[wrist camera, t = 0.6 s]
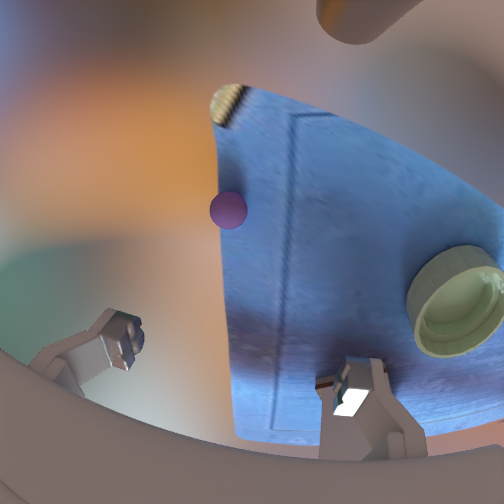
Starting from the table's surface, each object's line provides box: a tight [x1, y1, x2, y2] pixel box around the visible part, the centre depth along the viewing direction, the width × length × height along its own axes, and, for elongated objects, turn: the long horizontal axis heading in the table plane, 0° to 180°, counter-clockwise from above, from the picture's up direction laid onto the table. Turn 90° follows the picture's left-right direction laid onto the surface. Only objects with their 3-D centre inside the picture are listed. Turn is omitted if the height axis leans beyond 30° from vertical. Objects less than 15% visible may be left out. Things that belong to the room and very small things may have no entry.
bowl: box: [406, 245, 504, 358], centre depth 27 cm, size 13×13×5 cm
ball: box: [210, 191, 248, 229], centre depth 28 cm, size 4×4×4 cm
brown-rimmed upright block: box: [315, 362, 393, 461], centre depth 26 cm, size 11×11×35 cm
